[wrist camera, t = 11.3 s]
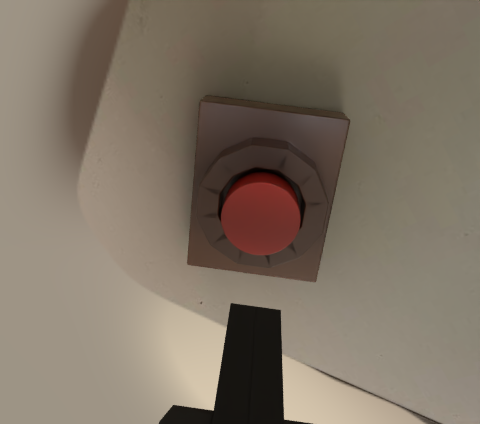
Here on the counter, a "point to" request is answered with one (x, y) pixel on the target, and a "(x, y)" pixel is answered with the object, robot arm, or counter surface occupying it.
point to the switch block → (271, 161)
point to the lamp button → (261, 214)
